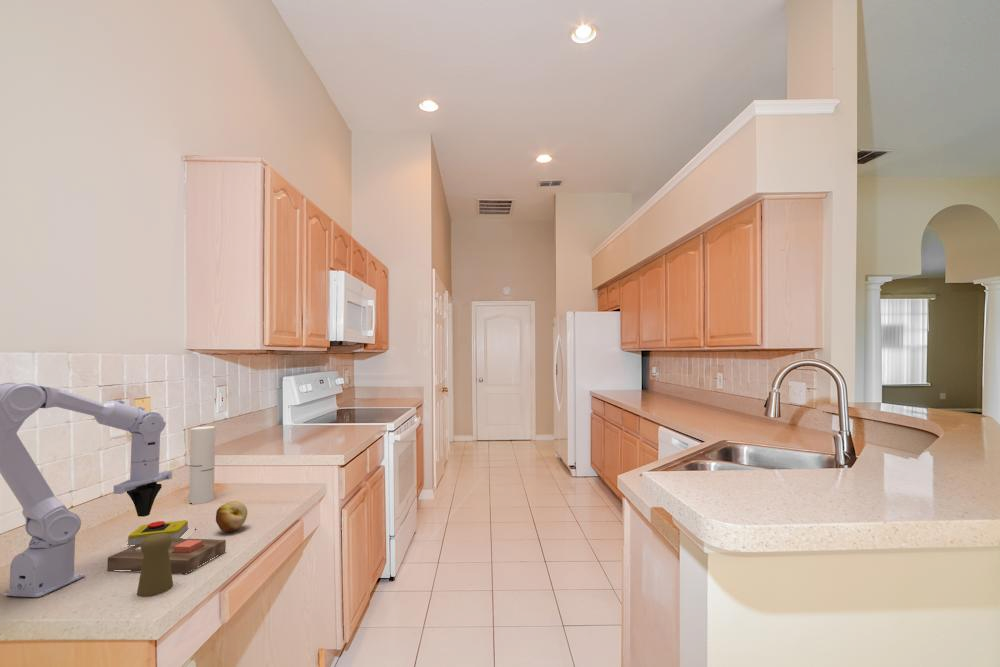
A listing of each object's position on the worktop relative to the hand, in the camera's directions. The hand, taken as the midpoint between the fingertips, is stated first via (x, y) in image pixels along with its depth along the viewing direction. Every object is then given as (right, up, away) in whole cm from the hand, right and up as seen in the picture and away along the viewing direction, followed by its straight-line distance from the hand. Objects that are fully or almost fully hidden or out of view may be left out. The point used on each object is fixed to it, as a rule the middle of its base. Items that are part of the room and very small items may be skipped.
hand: (143, 515), depth 115 cm
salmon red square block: (+15, -8, -5) cm, 17 cm away
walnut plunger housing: (+10, -9, -5) cm, 14 cm away
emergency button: (-4, -11, +11) cm, 16 cm away
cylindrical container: (-14, -13, +44) cm, 48 cm away
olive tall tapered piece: (+17, -8, -19) cm, 27 cm away
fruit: (+13, -10, +15) cm, 22 cm away
